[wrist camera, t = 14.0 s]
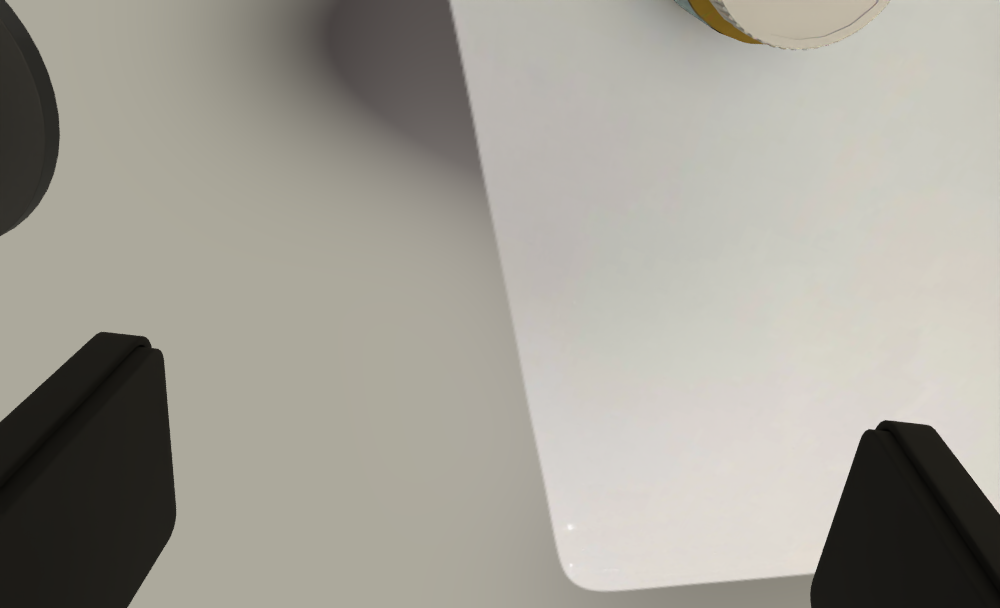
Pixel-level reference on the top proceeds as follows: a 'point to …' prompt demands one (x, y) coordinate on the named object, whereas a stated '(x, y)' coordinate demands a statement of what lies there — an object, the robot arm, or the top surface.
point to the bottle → (786, 19)
